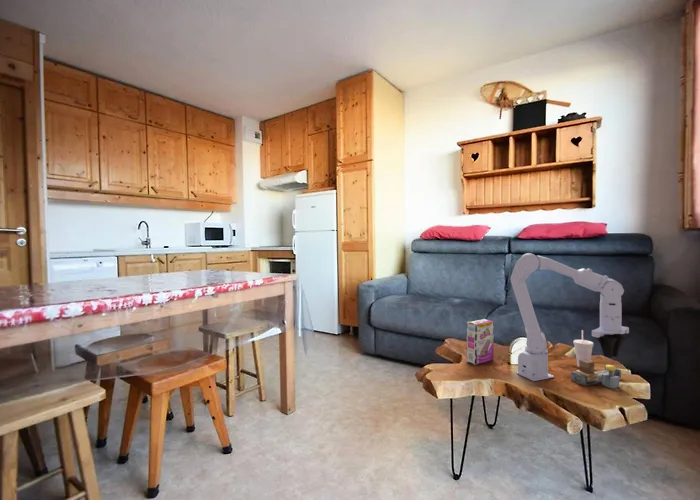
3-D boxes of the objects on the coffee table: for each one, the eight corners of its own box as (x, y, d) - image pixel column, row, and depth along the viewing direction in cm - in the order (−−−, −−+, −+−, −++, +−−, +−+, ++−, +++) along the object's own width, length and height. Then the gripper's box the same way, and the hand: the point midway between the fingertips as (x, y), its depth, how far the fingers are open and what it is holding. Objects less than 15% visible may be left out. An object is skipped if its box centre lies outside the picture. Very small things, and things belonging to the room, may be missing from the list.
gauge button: (611, 382, 111) (611, 368, 111) (603, 379, 113) (603, 365, 113) (617, 381, 112) (617, 366, 111) (609, 378, 114) (609, 364, 114)
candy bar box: (476, 366, 133) (476, 324, 132) (466, 362, 137) (465, 322, 137) (494, 360, 138) (494, 320, 138) (484, 357, 143) (483, 318, 142)
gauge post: (612, 388, 110) (612, 378, 110) (602, 384, 114) (601, 374, 114) (619, 387, 111) (619, 377, 111) (608, 383, 115) (608, 373, 114)
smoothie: (587, 364, 133) (587, 328, 132) (597, 370, 126) (597, 332, 126) (569, 363, 133) (569, 328, 133) (579, 369, 127) (579, 332, 126)
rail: (585, 385, 113) (585, 377, 113) (571, 380, 118) (571, 371, 118) (621, 378, 118) (621, 370, 118) (606, 373, 123) (606, 365, 123)
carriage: (587, 382, 114) (587, 364, 114) (575, 377, 118) (575, 359, 118) (598, 380, 115) (598, 362, 115) (585, 375, 119) (585, 358, 119)
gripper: (607, 320, 106) (607, 363, 106) (639, 316, 110) (639, 357, 111) (585, 315, 113) (585, 356, 113) (616, 312, 117) (616, 351, 117)
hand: (610, 356), depth 112 cm, fingers closed
